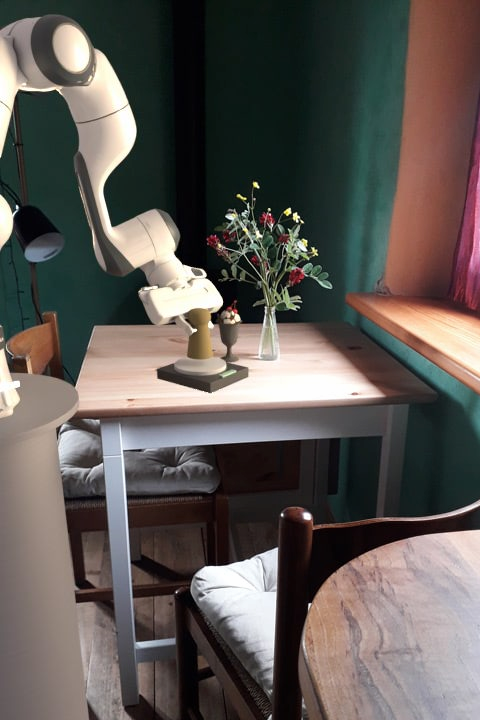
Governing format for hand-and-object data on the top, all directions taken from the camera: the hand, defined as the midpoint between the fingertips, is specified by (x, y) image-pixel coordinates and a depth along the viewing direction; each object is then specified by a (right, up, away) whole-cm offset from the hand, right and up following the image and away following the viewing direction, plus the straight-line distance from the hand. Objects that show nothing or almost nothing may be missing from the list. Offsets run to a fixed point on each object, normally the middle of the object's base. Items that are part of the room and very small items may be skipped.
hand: (201, 331), depth 140 cm
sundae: (+5, -5, +18) cm, 19 cm away
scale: (0, -10, +4) cm, 11 cm away
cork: (-1, -5, +3) cm, 6 cm away
